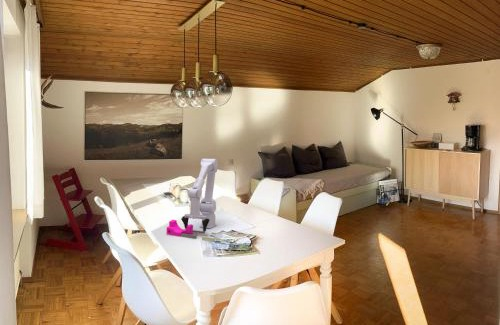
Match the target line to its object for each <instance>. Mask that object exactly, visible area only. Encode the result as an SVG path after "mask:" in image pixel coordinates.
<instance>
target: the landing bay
mask: <svg viewBox="0 0 500 325" xmlns="http://www.w3.org/2000/svg"><path fill="white" fill-rule="evenodd" d="M210 234H211V235H214V234H226V233H224V232H223V233H222V232H215V231H211V232H210ZM214 239H216V240H221V241H222V238H219V237H211V236H204V235H203V236H201V241H207V242H214V241H213V240H214ZM230 242H232V241H231V240H230V241H229V243H230Z"/></svg>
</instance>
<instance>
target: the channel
mask: <svg viewBox="0 0 500 325" xmlns="http://www.w3.org/2000/svg"><path fill="white" fill-rule="evenodd" d="M197 232H199V234H205V233H206V231H205V232H203V230H195V229H193V233H197ZM197 237H198V235H197V234H193V235H191V234H181V238H188V239H192V240H197Z"/></svg>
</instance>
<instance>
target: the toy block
mask: <svg viewBox="0 0 500 325" xmlns="http://www.w3.org/2000/svg"><path fill="white" fill-rule="evenodd" d="M168 223H169V224H168V226H166V235H169V236H175V237H181V234H191V235H194V232H193V230H194V224H192V223H190V224H188V226H187V228H186V229H185V228H182V227H181V226H179V225H178V221H177V220H176V219H171V220H169V221H168ZM181 238H182V237H181Z"/></svg>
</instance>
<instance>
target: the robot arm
mask: <svg viewBox="0 0 500 325" xmlns="http://www.w3.org/2000/svg"><path fill="white" fill-rule="evenodd" d="M218 165H219V162H218V160H217V158H205V157H204V158H201V160H200V171H199V175H198V178H196V179H195V180H194V183H193V185H192V188H190V189H189V190H188V194H187V196H188V198H189V201H190V203H189V205H190V213H184V215H183V216H182V217H181V222H182V223H183V225H184V229H186V228H187V226H188V225H189V219H196V220H201V225H199V227H198V228H202V231H203V232H205V233H206V231H207V229H212V228H214V227H216V226H217V224H216V214H215V213H216V210H217V202H216V200H215V199H214V198H213V196H214V187H215V180H216V179H215V178H216V173H218V167H219V166H218ZM205 178H206V182H205ZM204 184H205V191H204V197H203V198H202V195H203V193H202V192H203V187H204ZM201 198H202V199H201Z"/></svg>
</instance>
